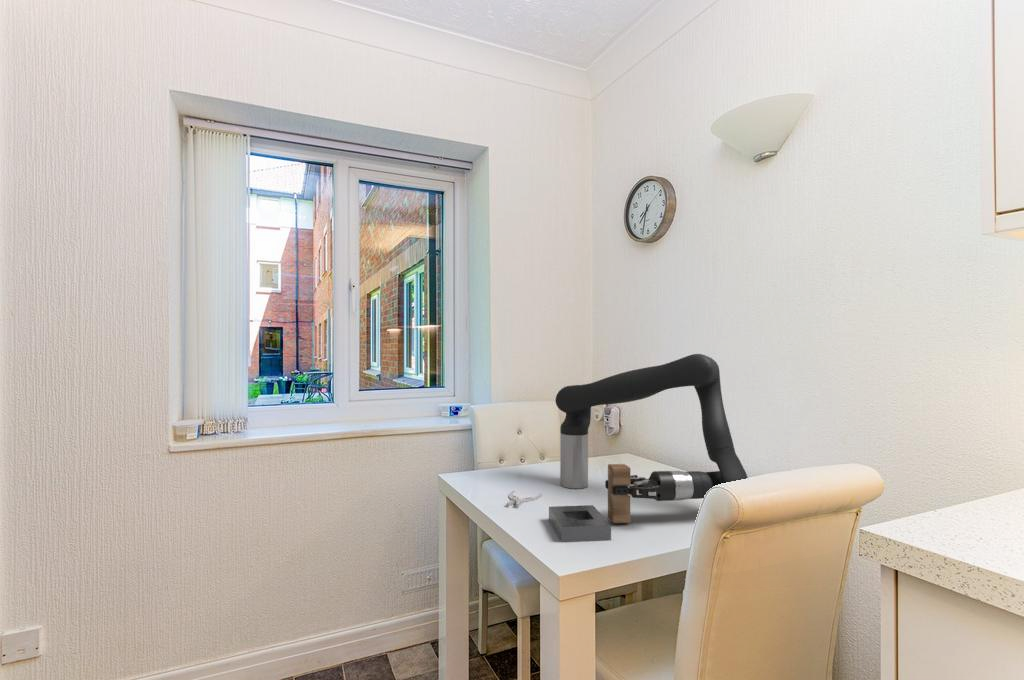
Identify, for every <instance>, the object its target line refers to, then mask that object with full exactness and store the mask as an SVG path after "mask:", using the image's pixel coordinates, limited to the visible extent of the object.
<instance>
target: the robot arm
mask: <svg viewBox="0 0 1024 680" xmlns="http://www.w3.org/2000/svg"><path fill="white" fill-rule="evenodd" d="M684 387H694V389H695V392H696V393H697V397H698V399H699V405H700V411H701V426H702V429H701V430H702V434H703V440H704V444H705V449H706V451H707V455H708V458H709V460H710V461H711V462H714V463H715V464H716V465H717V468H718V470H717V471H715V470H714V471H699V470H698V471H697V470H695V471H693V470H691V471H685V470H684V471H683V470H682V471H681V470H657V471H656V470H655V471H652V472H651V473H650V475H649V477H648V478H646V477H645V476H639V475H637V474H634V475H630V485H627V487H626V485H613V486H612V487H611V493H612V494H613V495H625V494H627V495H628V496H630V497H631V498H633V499H649V500H654V501H657V502H664V501H666V502H667V501H669V502H670V501H684V500H697V499H698V500H699V499H705V498H704V495H705V494H706V492H707V491H708V490H709V489H710V488H712V487H713V486H715V485H718V484H721V483H726V482H731V481H736V480H741V479H746V478H748V479H749V477H748V474H747V471H746V470H745V468H744V466H743V464H742V462H741V461H740V457H738V455H737V453H736V450H735V449H736V448H735V446H734V441H733V438H732V435H731V434H732V433H731V429H730V426H729V422H728V418H727V415H726V411H725V407H724V401H723V396H722V385H721V376H720V365H718V362H716V361H715V359H713V358H712V357H710V356H708V355H705V354H702V353H693V354H689V355H687V356H684V357H681V358H679V359H675V360H673V361H670V362H667V363H664V364H660V365H655V366H646V367H641V368H637V369H633V370H627V371H624V372H621V373H618V374H614V375H610V376H608V377H604V378H602V379H599V380H596V381H594V382H593V381H592V382H590V383H589V382H588V383H586V384H585V383H584V384H575V385H574V384H573V385H567V386H564V387H562V388H561V389H559V390H558V392H557V394H556V396H555V405H556V407H557V408H558V410H559V411H561V412H563V413H565V418H564V421H562V423H561V424H560V435H559V436H560V438H559V442H560V443H559V444H560V447H559V448H560V449H559V450H560V455H559V457H560V461H559V465H560V466H559V467H560V468H559V469H560V473H559V477H560V478H559V481H560V482H559V483H560V486H561V487H563V488H567V489H584V488H587V487H588V486H589V428H590V425H591V417H592V410H591V409H592V407H595V406H601V405H602V406H605V405H616V404H624V403H630V402H631V403H632V402H634V401H636V402H637V401H640V400H643V399H646V398H649V397H652V396H655V395H656V394H659V393H661V392H663V391H666V390H669V389H674V388H675V389H676V388H684ZM604 484H605V485H604V487H605V488H606V489H607V490H608V479H606V480H605V483H604Z"/></svg>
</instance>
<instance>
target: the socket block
mask: <svg viewBox="0 0 1024 680" xmlns="http://www.w3.org/2000/svg"><path fill="white" fill-rule="evenodd" d="M548 521H549V523H550V525H551V527H552V528H553V530H554V532H555V534H556V535H557V537H558V540H560V542H561V543H572V542H573V543H576V542H596V541H597V542H599V541H612V524H610V522H609V521H608V520H607V519H606V518H605V517H604V515H602V513H601V512H600V511H599V510H598V509H597V508H596V507H595V506H594V504H591V505H590V504H589V505H588V504H587V505H561V506H558V505H555V506H548Z"/></svg>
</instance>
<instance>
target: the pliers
mask: <svg viewBox="0 0 1024 680" xmlns="http://www.w3.org/2000/svg"><path fill="white" fill-rule="evenodd" d="M513 493H514V494H515V493H516V492H515V490H512V491H510V493H509V494H508V499H509V498H510V499H511V500H510V499H509V501H507V502H506V508H510V507H509V506H511V507H513V506H515V509H519V508H520V507H519V506H520V505H521V506H522V503H523V504H524V502H525V503H529V501H531V502H533V501H537V500H539V499H540V498H541V497H542V495H543V494H542V493H538V495H536V496H533V497H532V496H531V497H524V498H520V497H518V496H517V495H514V494H513ZM516 497H517V498H516ZM524 499H525V500H524ZM514 504H516V505H514ZM512 505H513V506H512Z"/></svg>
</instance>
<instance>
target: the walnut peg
mask: <svg viewBox="0 0 1024 680" xmlns="http://www.w3.org/2000/svg"><path fill="white" fill-rule="evenodd" d="M630 476H631V467H630V466H628V465H626V464H625V463H608V464H607V480H608V489H607V519H609V520H610V522H612V523H613V524H627V523H628V524H629V523H631V496H628V495H627V494H625V495H613V494H612V493H611V487H612V486H613V485H626V487H627V485H630Z"/></svg>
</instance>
